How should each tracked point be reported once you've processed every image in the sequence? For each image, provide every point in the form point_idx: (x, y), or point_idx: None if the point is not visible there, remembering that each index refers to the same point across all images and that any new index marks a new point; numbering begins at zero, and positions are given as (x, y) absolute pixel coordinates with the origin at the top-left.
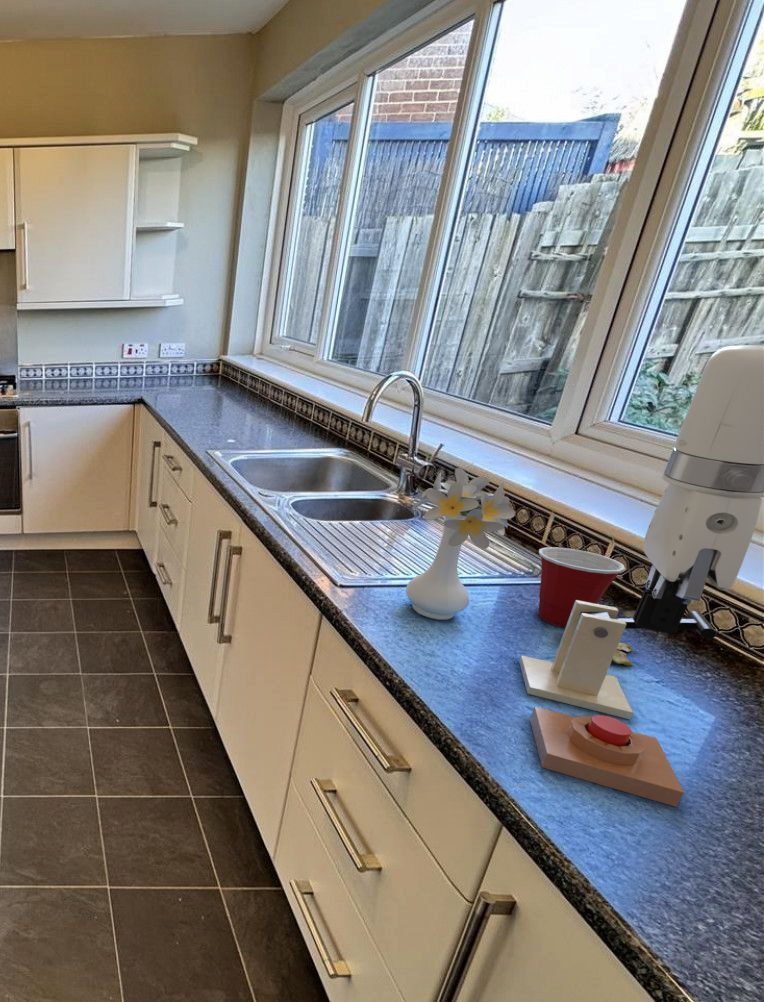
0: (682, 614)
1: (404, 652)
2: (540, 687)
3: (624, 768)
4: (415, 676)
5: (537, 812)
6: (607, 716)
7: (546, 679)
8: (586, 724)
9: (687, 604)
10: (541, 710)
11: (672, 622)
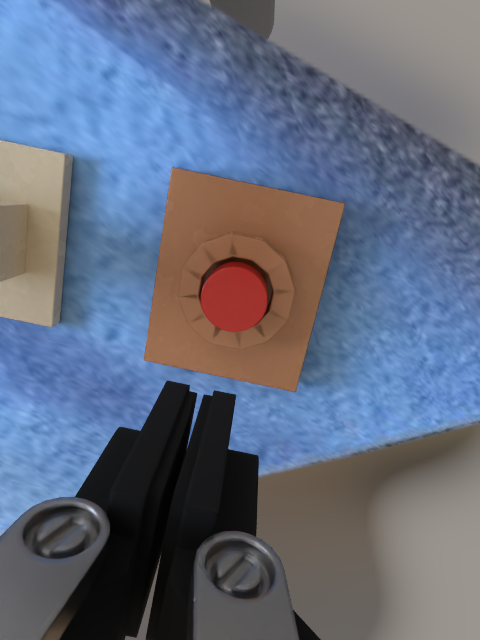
0: (224, 454)
1: (5, 493)
2: (44, 307)
3: (301, 279)
4: None
5: (408, 421)
6: (204, 295)
7: (4, 284)
8: None
9: (217, 502)
10: (154, 353)
11: (256, 468)
